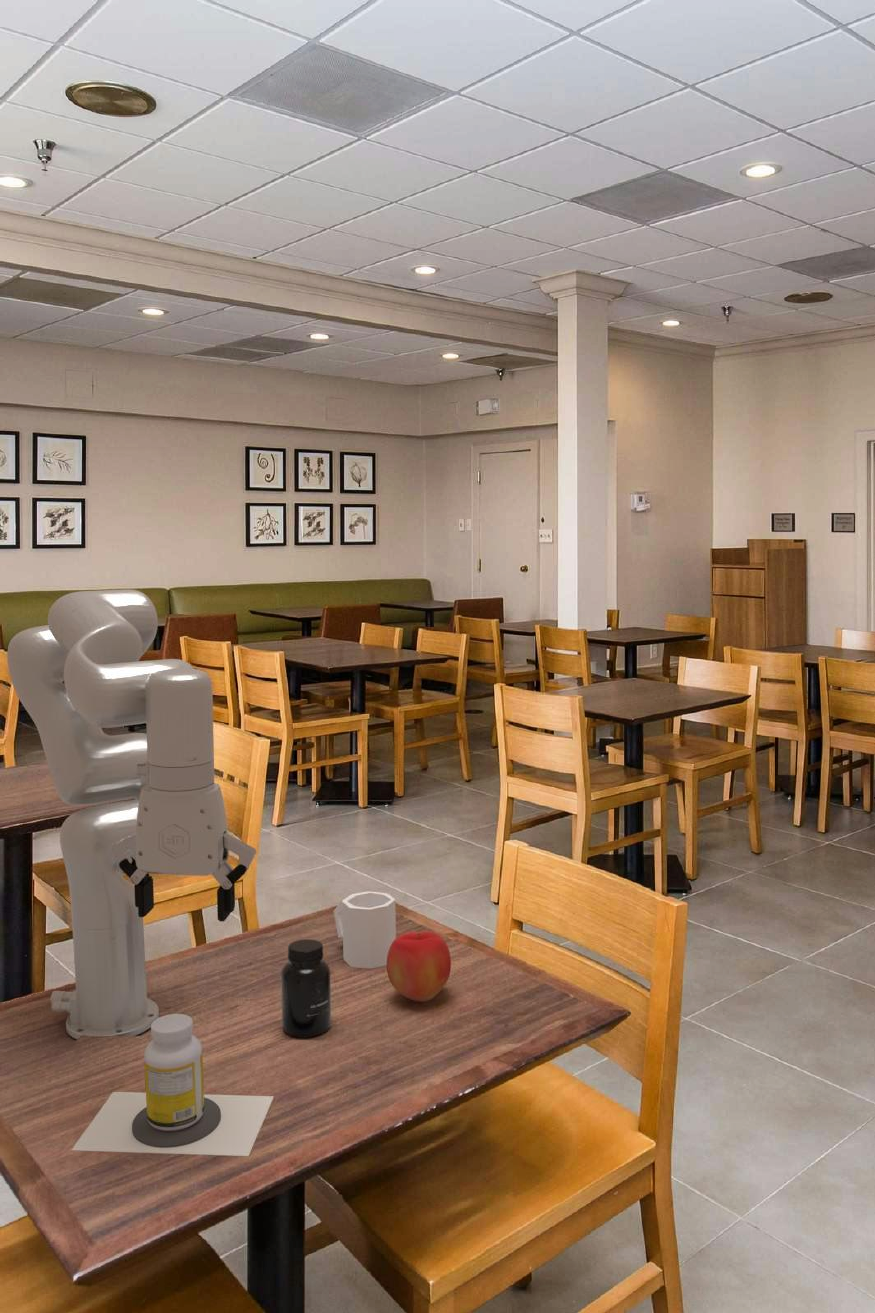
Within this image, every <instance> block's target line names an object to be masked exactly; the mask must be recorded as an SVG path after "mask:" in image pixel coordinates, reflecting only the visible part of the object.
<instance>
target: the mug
mask: <svg viewBox="0 0 875 1313" xmlns="http://www.w3.org/2000/svg"><path fill="white" fill-rule="evenodd" d="M333 916H334V922H335V927H336V932H337V938H338V939H341V938H342V945H343V946H342V949H343V950H342V952H343V953H342V954H343V961H345V963H347V965H348V966H349V967H351V968H357V969H367V970H368V969H369V970H372V969H377V968H381V967H385V966H386V967H387V955H388V951H389V948H390V946H391V944H392V942H393V941H394V940H395V939H396V938H397V926H396V919H397V918H396V899H395V898H394V897H393V896H391V895H390V893H388V892H387V893H386V892H378V891H363V892H358V893H352V894H350V895H348V896H347V897H346V898H344V899H341V901H340V902H339V903H338V905H337V906H336V907H335V908H334V910H333Z"/></svg>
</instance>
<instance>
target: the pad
mask: <svg viewBox="0 0 875 1313" xmlns="http://www.w3.org/2000/svg"><path fill="white" fill-rule="evenodd" d="M220 1120H221V1110H220V1108H219V1106H218V1105H217V1104H216V1103H215V1102H214V1101H212V1100H210V1099H208V1098H205V1097H204V1113H203V1115H202V1117H201V1118H200V1119H199V1120H198V1121H197V1122H196V1123H194V1124H193V1125H191V1126H189V1127H187V1128H184V1129H180V1130H175V1131H163V1130H159V1129H156V1128H154V1127H153V1126H151V1125H150V1123H149V1122H148V1118H147V1107H145V1108H144V1109H143V1110H141V1111H140V1112H139V1113H138V1114H137V1115H136V1117H135V1118H134V1120H133V1123H132V1132H133V1135H134V1137H135V1138H136V1139H137V1140H138V1141H139V1142H141V1143H143V1144H145V1145H148V1146H153V1147H161V1148H169V1147H178V1146H183V1145H187V1144H190V1143H193V1142H196V1141H198V1140H200V1139H202V1138H204V1137H206V1136H207V1135H209V1134H210V1133H212V1132H213V1131H214V1130H215V1129H216V1127H217V1126H218V1125H219V1123H220Z"/></svg>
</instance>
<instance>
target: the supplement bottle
mask: <svg viewBox="0 0 875 1313" xmlns="http://www.w3.org/2000/svg"><path fill="white" fill-rule="evenodd" d="M323 950H324V946H323V943H322V942H321V941H319V940H316V939H310V938H309V939H308V938H307V939H304V938H303V939H298V940H295V941H292V942H291V943H290V944H289V945H288V950H287V951H288V954H287V960H288V961H287V962H286V963H285V964H284V965H283V967H282V969H281V976H280V977H281V978H280V979H281V1018H282V1019H281V1021H282V1022H281V1023H282V1028H283V1030H284V1032H285V1033H286V1034H288V1035H290V1036H292V1037H296V1038H312V1037H317V1036H319V1035H322V1034H324V1033H325V1032H327V1031H328V1030H329V1029H330V1026H331V1022H332V1021H331V1020H332V1018H331V1016H332V1006H331V1005H332V1004H331V1000H332V998H331V997H332V996H331V995H332V994H331V990H332V989H331V985H332V984H331V969H330V968H331V967H330V965H329V964H328V962H327V961H326V960H324V951H323Z"/></svg>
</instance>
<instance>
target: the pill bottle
mask: <svg viewBox="0 0 875 1313" xmlns="http://www.w3.org/2000/svg"><path fill="white" fill-rule="evenodd" d="M193 1033H194V1023H193V1018H192V1017H191V1016H189V1015H188V1014H183V1013H171V1014H166V1015H163V1016H159V1017H158V1018H157V1019H156V1020H154V1021H153V1022H152V1024H151V1027H150V1035H151V1039H152V1040H151V1042H150V1043H149V1044H148V1045H147V1046H146V1048H145V1050H144V1054H143V1060H144V1062H143V1063H144V1079H145V1080H144V1081H145V1082H144V1083H145V1093H146V1104H147V1118H148V1122H149V1123H150V1125H151V1126H153V1127H154V1128H156V1129H159V1130H163V1131H175V1130H180V1129H184V1128H187V1127H189V1126H191V1125H193V1124H194V1123H196V1122H197V1121H198V1120H199V1119H200V1118H201V1117H202V1115H203V1113H204V1094H205V1090H204V1089H205V1088H204V1086H205V1084H204V1083H205V1082H204V1062H203V1048H202V1044H201V1042H200V1040H199V1039H198V1038H197V1037H196V1036H195V1035H193Z"/></svg>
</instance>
